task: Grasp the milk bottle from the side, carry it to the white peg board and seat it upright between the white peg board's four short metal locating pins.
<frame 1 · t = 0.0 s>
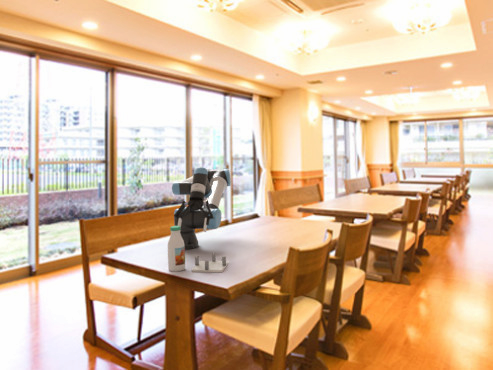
hand: (191, 230, 173), 15 cm above the table, tool tilted 35°, fingers open, 13 cm apart
white peg board: (210, 267, 164), on the table
milk bottle: (177, 269, 162), on the table
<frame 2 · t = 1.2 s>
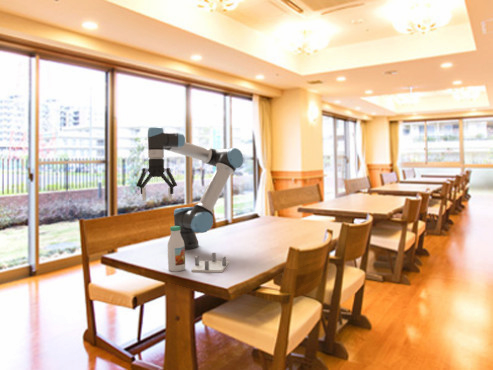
hand: (157, 200, 177), 30 cm above the table, tool pointing down, fingers open, 13 cm apart
nothing on the table moved.
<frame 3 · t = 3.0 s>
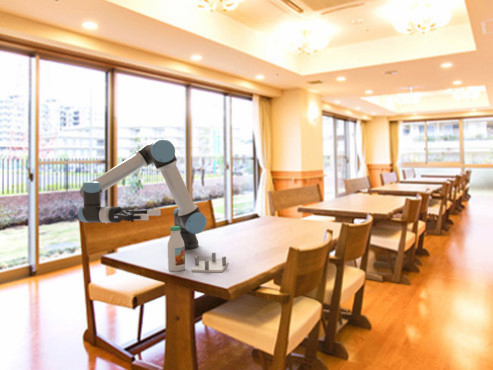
hand: (154, 214, 162), 25 cm above the table, tool horizontal, fingers open, 13 cm apart
nothing on the table moved.
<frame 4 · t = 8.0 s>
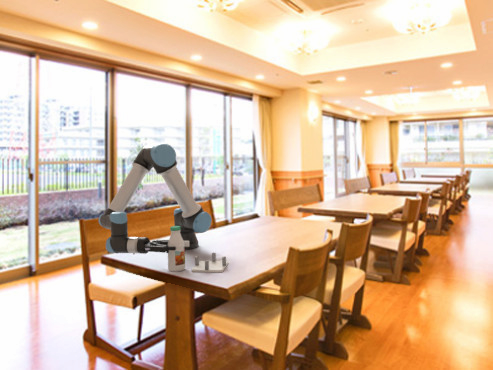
hand: (186, 245, 160), 11 cm above the table, tool horizontal, fingers closed on milk bottle, 8 cm apart
milk bottle: (177, 269, 162), on the table, touching gripper
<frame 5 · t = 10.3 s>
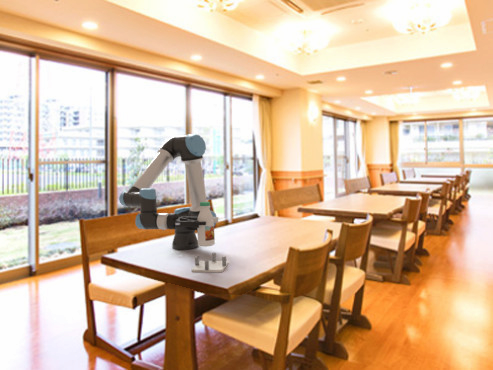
hand: (215, 221, 161), 22 cm above the table, tool horizontal, fingers closed on milk bottle, 8 cm apart
milk bottle: (206, 245, 162), point 11 cm above the table, touching gripper
when the fingers open (13 cm above the table, at t = 12.8 s): milk bottle drops 1 cm, resting on white peg board.
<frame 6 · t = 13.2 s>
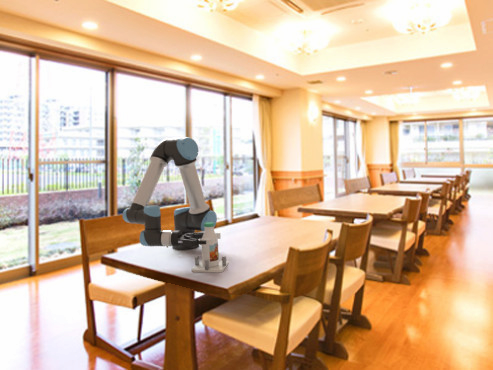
hand: (217, 238, 162), 13 cm above the table, tool horizontal, fingers open, 12 cm apart
milk bottle: (210, 265, 164), point 1 cm above the table, touching white peg board
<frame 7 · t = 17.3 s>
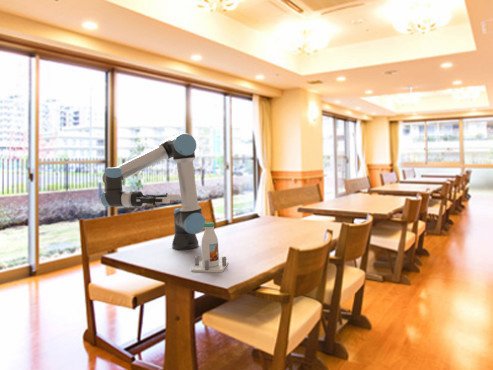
hand: (174, 198, 168), 32 cm above the table, tool horizontal, fingers open, 13 cm apart
nothing on the table moved.
at the end: milk bottle inside the target area on the white peg board (0.1 cm from its centre), point 0.8 cm above the white peg board's base; milk bottle tilted 0°; the gripper is holding nothing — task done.
